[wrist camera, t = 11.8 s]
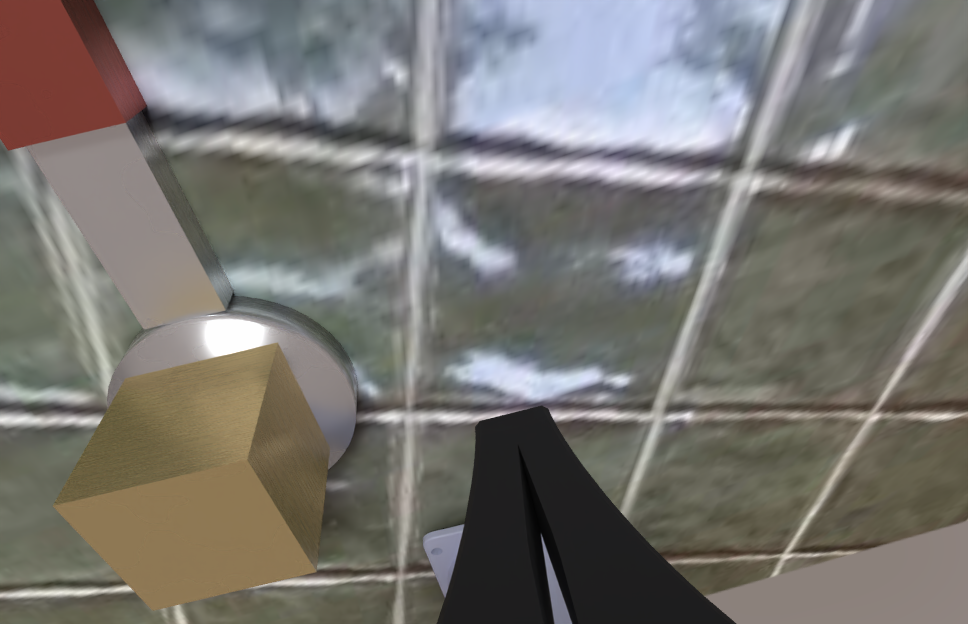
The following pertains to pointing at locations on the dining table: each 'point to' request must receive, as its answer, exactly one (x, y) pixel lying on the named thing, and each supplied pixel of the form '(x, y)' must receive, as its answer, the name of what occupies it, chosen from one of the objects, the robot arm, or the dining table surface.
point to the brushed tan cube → (203, 479)
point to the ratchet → (144, 210)
